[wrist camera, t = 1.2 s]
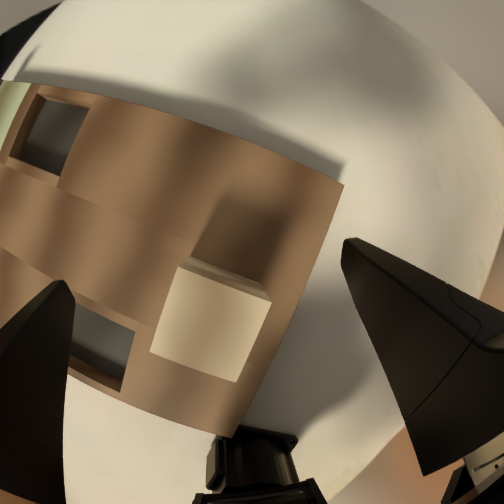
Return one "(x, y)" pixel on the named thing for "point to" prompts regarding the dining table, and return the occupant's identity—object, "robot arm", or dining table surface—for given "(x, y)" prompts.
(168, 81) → the dining table surface
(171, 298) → the birch cube
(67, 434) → the dining table surface
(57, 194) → the board
